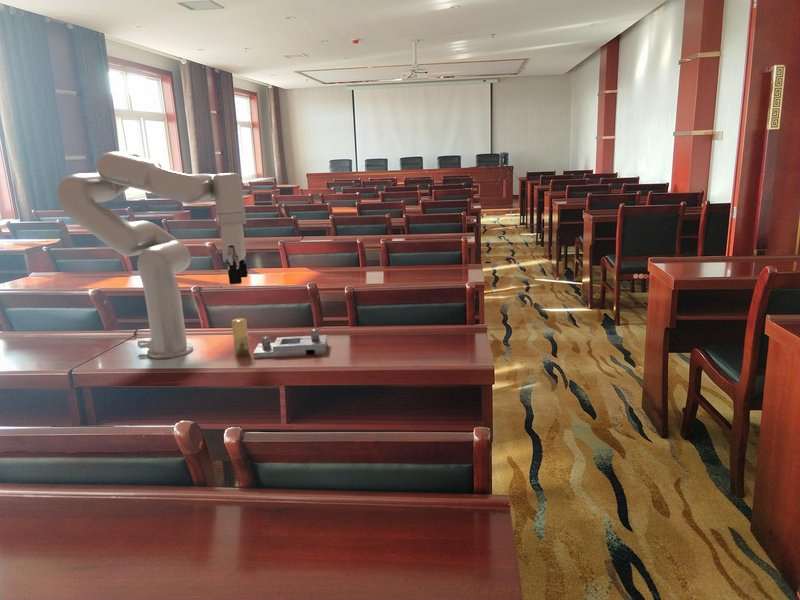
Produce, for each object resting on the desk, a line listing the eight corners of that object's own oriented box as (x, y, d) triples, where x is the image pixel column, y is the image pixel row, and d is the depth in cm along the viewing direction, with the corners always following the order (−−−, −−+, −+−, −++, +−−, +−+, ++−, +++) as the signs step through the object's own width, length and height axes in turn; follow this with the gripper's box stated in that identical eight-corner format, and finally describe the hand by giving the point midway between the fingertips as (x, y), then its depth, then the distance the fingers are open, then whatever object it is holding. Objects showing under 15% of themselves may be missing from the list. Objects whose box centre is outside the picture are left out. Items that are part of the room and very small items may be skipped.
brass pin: (233, 356, 170) (230, 322, 168) (236, 352, 174) (233, 318, 172) (248, 355, 171) (244, 321, 168) (250, 351, 175) (247, 318, 172)
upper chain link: (273, 357, 169) (271, 336, 167) (277, 347, 177) (276, 327, 176) (325, 354, 169) (324, 333, 168) (327, 344, 178) (325, 325, 177)
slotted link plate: (253, 358, 168) (252, 342, 167) (259, 348, 177) (257, 333, 176) (306, 355, 169) (304, 339, 168) (308, 345, 178) (307, 330, 177)
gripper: (223, 217, 173) (231, 275, 177) (210, 223, 156) (219, 287, 160) (250, 215, 173) (257, 274, 177) (240, 221, 157) (247, 285, 160)
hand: (238, 280), depth 169 cm, fingers open, 9 cm apart
